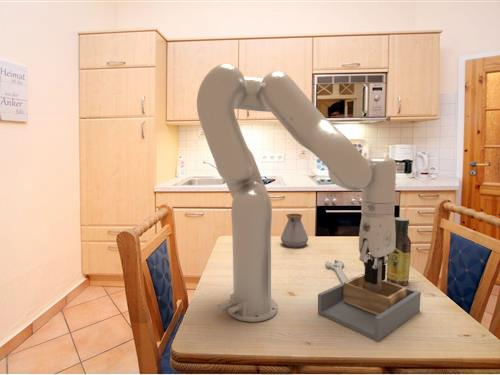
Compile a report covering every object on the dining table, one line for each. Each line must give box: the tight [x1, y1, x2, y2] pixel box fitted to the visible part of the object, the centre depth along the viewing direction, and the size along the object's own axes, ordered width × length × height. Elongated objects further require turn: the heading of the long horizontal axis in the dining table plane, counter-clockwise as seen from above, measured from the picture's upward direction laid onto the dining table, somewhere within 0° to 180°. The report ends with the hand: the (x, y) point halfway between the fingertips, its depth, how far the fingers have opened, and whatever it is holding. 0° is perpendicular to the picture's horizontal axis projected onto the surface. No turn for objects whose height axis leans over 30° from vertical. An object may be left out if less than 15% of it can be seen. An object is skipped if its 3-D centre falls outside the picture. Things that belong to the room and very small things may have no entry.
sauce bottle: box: [385, 216, 412, 286], centre depth 100 cm, size 7×6×20 cm
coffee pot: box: [280, 213, 309, 249], centre depth 135 cm, size 21×12×15 cm, turn 168°
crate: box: [343, 258, 408, 315], centre depth 84 cm, size 9×12×12 cm
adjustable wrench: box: [325, 259, 350, 284], centre depth 106 cm, size 25×6×2 cm, turn 174°
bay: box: [317, 273, 422, 342], centre depth 83 cm, size 20×16×5 cm
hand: (374, 280), depth 84 cm, fingers closed on crate, 3 cm apart
